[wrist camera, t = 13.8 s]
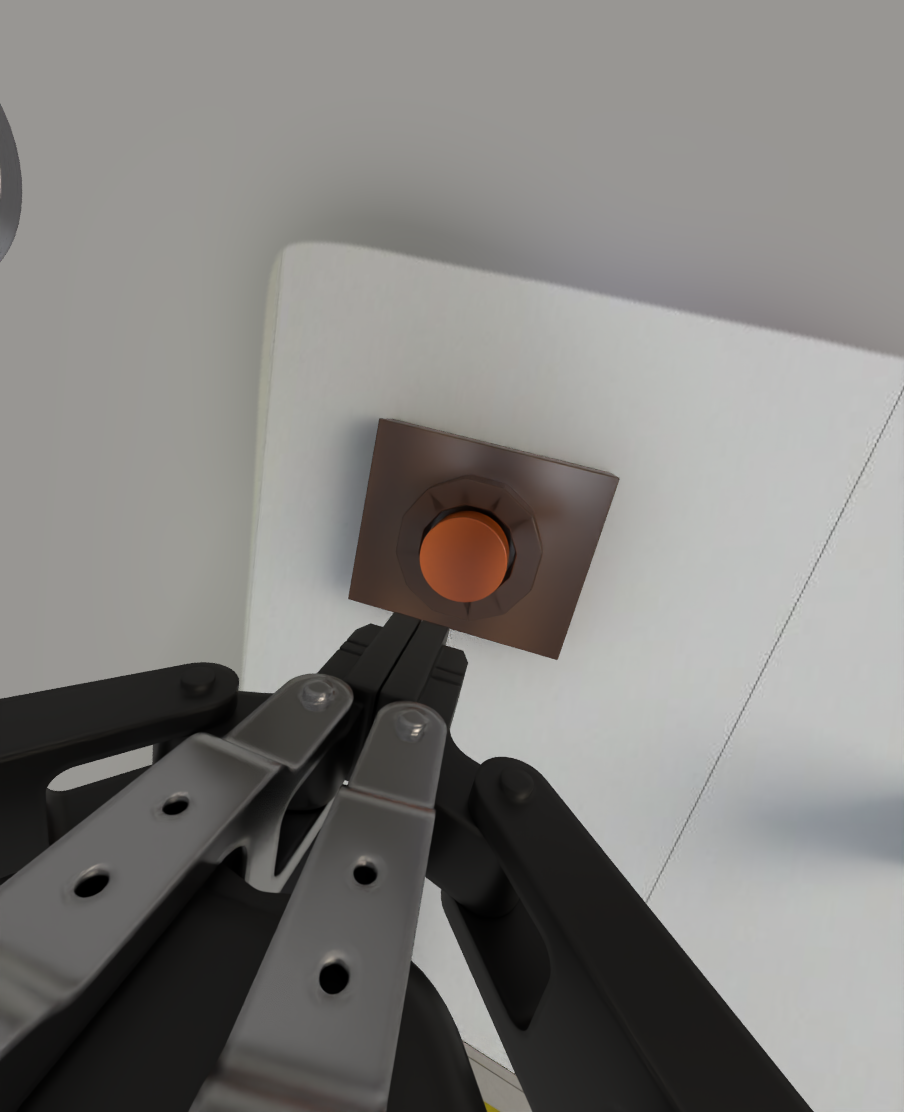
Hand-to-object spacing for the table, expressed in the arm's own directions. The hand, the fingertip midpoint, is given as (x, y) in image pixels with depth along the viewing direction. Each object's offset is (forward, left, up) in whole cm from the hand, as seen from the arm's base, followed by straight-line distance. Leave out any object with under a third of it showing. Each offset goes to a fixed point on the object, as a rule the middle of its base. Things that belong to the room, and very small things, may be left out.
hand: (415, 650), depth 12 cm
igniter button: (0, 0, -11) cm, 11 cm away
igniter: (0, 0, -14) cm, 14 cm away
